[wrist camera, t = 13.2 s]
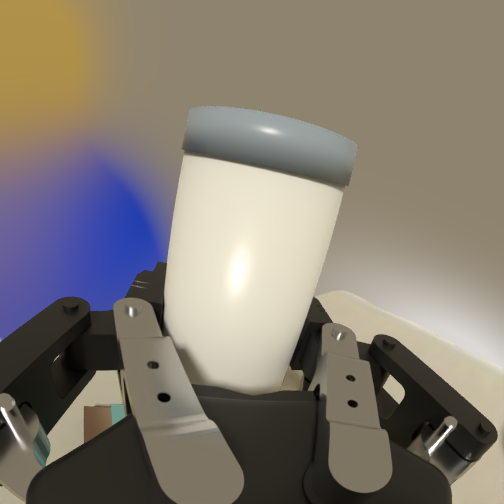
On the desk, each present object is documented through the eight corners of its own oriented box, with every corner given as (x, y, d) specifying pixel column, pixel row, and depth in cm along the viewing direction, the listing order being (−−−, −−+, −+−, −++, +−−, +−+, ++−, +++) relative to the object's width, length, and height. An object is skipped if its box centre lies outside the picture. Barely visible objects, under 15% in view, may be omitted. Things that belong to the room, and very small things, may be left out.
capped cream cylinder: (168, 495, 10) (215, 96, 5) (150, 421, 14) (178, 115, 10) (263, 478, 12) (393, 157, 7) (231, 414, 17) (300, 143, 12)
